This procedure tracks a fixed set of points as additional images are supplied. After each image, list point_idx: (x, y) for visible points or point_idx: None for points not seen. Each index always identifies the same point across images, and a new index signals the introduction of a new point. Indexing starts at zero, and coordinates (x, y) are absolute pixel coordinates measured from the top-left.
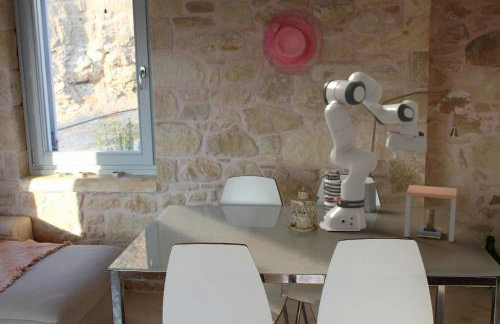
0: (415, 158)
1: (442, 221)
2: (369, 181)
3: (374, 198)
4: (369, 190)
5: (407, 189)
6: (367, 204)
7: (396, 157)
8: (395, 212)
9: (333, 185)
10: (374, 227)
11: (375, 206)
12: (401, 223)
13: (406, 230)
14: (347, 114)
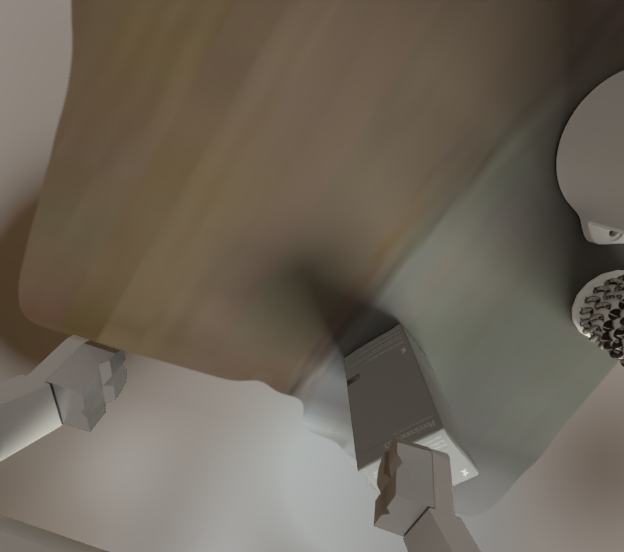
0: (64, 361)
1: (132, 64)
2: None
3: (364, 384)
4: (431, 395)
5: None
6: (416, 351)
7: (426, 451)
8: (284, 289)
9: None
10: (539, 90)
11: (350, 362)
12: (365, 108)
13: None
14: None
